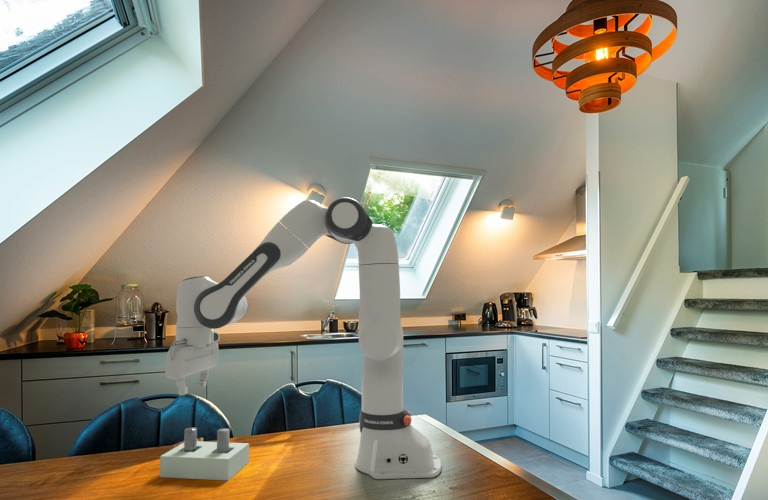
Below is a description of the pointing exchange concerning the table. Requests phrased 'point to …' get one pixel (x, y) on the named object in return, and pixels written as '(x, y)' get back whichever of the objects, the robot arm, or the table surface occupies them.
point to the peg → (190, 439)
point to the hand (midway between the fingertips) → (192, 390)
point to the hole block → (206, 459)
